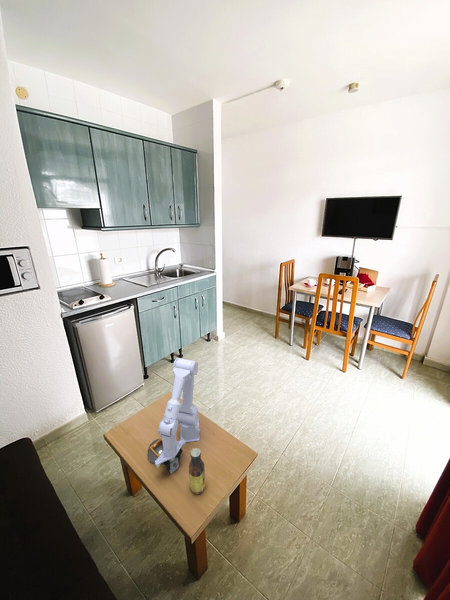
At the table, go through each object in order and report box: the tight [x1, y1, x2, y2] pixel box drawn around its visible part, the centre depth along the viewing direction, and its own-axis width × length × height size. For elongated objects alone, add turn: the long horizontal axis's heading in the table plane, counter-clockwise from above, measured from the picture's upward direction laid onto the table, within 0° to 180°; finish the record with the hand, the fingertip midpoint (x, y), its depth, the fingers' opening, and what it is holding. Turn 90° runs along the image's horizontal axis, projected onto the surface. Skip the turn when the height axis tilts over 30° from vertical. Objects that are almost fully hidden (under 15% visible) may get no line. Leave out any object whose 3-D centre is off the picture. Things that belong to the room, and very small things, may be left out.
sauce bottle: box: [188, 447, 206, 495], centre depth 97 cm, size 7×6×20 cm
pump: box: [168, 456, 180, 474], centre depth 107 cm, size 4×5×7 cm
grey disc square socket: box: [147, 437, 164, 466], centre depth 114 cm, size 12×11×4 cm
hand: (172, 465), depth 108 cm, fingers closed on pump, 4 cm apart
